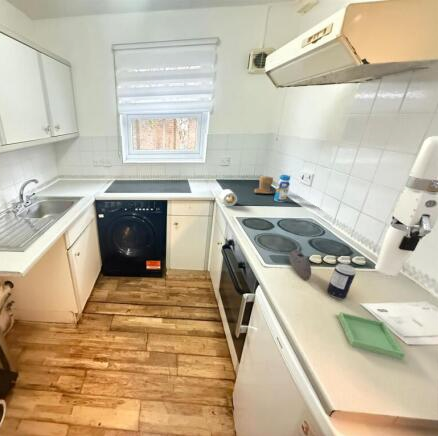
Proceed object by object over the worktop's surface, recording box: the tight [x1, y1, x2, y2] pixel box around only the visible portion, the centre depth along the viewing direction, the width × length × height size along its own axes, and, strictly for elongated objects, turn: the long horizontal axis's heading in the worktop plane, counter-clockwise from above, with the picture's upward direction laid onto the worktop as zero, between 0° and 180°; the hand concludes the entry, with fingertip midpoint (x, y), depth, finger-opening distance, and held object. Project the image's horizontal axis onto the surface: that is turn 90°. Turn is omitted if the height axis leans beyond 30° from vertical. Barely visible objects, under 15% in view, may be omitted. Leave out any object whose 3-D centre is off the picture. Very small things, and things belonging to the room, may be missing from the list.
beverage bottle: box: [273, 174, 291, 203], centre depth 183 cm, size 8×8×20 cm
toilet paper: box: [219, 188, 238, 207], centre depth 178 cm, size 10×10×10 cm
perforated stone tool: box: [288, 249, 312, 281], centre depth 98 cm, size 15×5×7 cm, turn 168°
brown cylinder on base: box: [254, 175, 274, 195], centre depth 204 cm, size 15×12×15 cm
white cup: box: [374, 223, 418, 277], centre depth 71 cm, size 7×7×15 cm
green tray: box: [337, 311, 406, 360], centre depth 70 cm, size 11×12×2 cm
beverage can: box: [326, 263, 356, 300], centre depth 85 cm, size 6×6×12 cm
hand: (399, 243), depth 70 cm, fingers closed on white cup, 6 cm apart
